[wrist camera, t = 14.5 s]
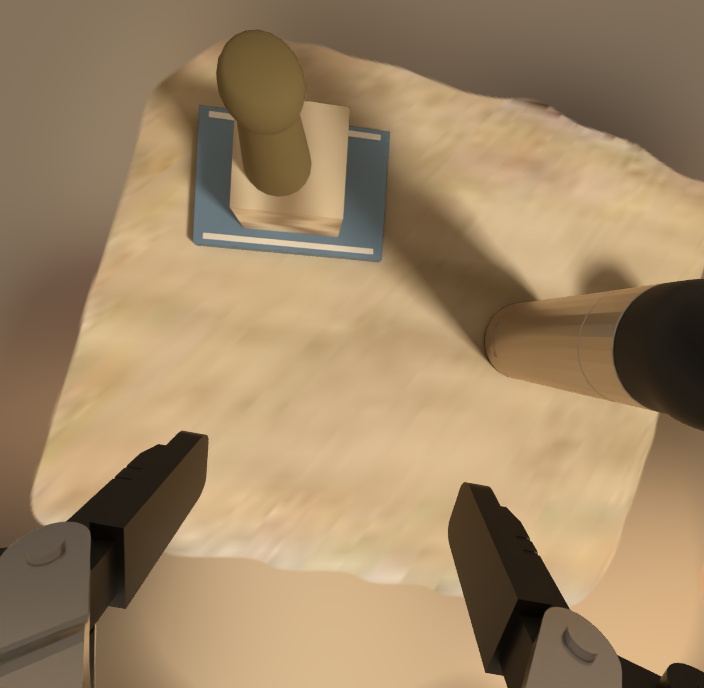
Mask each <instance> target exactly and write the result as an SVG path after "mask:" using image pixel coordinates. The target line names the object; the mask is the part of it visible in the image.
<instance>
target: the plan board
mask: <svg viewBox="0 0 704 688" xmlns="http://www.w3.org/2000/svg"><path fill="white" fill-rule="evenodd" d="M233 133H234V118H233V117H232V116H231V115H230V114H229V112H228V110H227V109H224V108H217V107H210V106H203V105H199V125H198V146H197V166H196V187H195V207H194V228H193V243H194V244H196V245H198V246H209V247H220V248H231V249H242V250H253V251H263V252H274V253H285V254H296V255H307V256H318V257H329V258H340V259H351V260H362V261H373V262H380V261H381V259H382V244H383V229H384V214H385V199H386V183H387V168H388V153H389V138H390V132H387V131H380V130H373V129H365V128H358V127H351V126H349V131H348V148H347V164H346V180H345V196H344V212H343V221H342V224H341V228H340V232H339V235H338V237H330V236H320V235H309V234H299V233H289V232H279V231H269V230H259V229H249V228H243V226H242V225H241V223H240V222H239V220H238V219H237V217H236V216H235V214H234V213H233V211H232V210H231V208H230V191H231V172H232V153H233Z"/></svg>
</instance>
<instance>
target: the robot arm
mask: <svg viewBox="0 0 704 688" xmlns="http://www.w3.org/2000/svg"><path fill="white" fill-rule="evenodd" d="M485 349H486V354H487V356H488V358H489V361H490V362H491V364H492V365H493V366H494V368H495V369H496V370H498V371H499V372H500V373H501V374H503V375H505V376H507V377H511V378H515V379H519V380H523V381H527V382H531V383H535V384H540V385H544V386H548V387H553V388H557V389H561V390H565V391H570V392H574V393H578V394H583V395H587V396H591V397H596V398H600V399H604V400H608V401H613V402H618V403H622V404H627V405H631V406H635V407H639V408H644V409H648V410H653V411H657V412H661V413H665V414H669V415H670V416H671V417H673V418H674V419H676V420H678V421H680V422H682V423H684V424H686V425H688V426H691V427H693V428H696V429H699V430H702V431H704V279H693V280H685V281H677V282H670V283H663V284H655V285H648V286H641V287H633V288H626V289H620V290H613V291H605V292H598V293H590V294H583V295H576V296H568V297H561V298H554V299H546V300H538V301H531V302H524V303H517V304H512V305H509V306H506V307H504V308H503V309H501V310H500V311H499V312H498V313H497V314H496V315H495V316H494V317H493V318H492V320H491V321H490V323H489V325H488V327H487V330H486V335H485ZM207 457H208V436H207V435H204V434H198V433H193V432H187V431H180V432H179V433H178V434H177V435H176V436H175V437H174V438H173V439H172V440H171V441H170V442H169V443H168V444H167V445H160V444H158V445H156V446H154V447H152V448H150V449H148V450H146V451H144V452H142V453H140V454H139V455H138V456H137V457H136V458H135V459H134V460H133V461H131V462H130V463H129V464H128V465H127V467H126V468H124V469H123V470H122V471H121V472H119V473H118V474H117V475H116V476H115V479H112V480H111V481H110V482H109V483H108V484H106V485H105V486H104V487H103V488H102V489H101V490H100V491H99V492H98V493H97V494H96V495H95V496H93V497H92V498H91V499H90V500H89V501H88V502H87V503H86V504H85V505H84V506H83V507H81V508H80V509H79V510H78V511H77V512H76V513H75V514H74V515H73V516H72V517H71V518H70V519H68V520H67V521H66V522H58V523H53V524H49V525H46V526H43V527H40V528H38V529H35V530H33V531H31V532H29V533H27V534H26V535H24V536H22V537H20V538H19V539H18V540H17V541H15V542H14V543H12V545H10V546H9V547H7V548H0V688H95V667H96V662H95V661H96V622H97V621H98V620H99V618H100V617H101V615H102V614H103V613H104V611H105V610H106V608H107V607H108V606H112V607H118V608H124V609H126V608H127V606H128V605H129V603H130V602H131V600H132V599H133V597H134V595H135V594H136V592H137V591H138V590H139V588H140V587H141V585H142V584H143V582H144V580H145V579H146V577H147V576H148V574H149V573H150V571H151V570H152V568H153V567H154V565H155V563H156V562H157V561H158V559H159V558H160V556H161V555H162V553H163V552H164V550H165V549H166V547H167V546H168V544H169V543H170V541H171V540H172V538H173V537H174V535H175V534H176V532H177V531H178V529H179V527H180V526H181V524H182V523H183V521H184V520H185V518H186V517H187V515H188V514H189V512H190V511H191V509H192V508H193V506H194V505H195V503H196V502H197V500H198V499H199V497H200V495H201V493H202V490H203V488H204V485H205V481H206V472H207ZM448 540H449V545H450V548H451V552H452V555H453V559H454V563H455V566H456V570H457V573H458V577H459V580H460V584H461V587H462V591H463V595H464V598H465V602H466V605H467V609H468V612H469V616H470V619H471V623H472V627H473V629H474V634H475V637H476V641H477V644H478V648H479V652H480V655H481V658H482V662H483V666H484V669H485V673H491V674H496V675H502V676H504V678H505V681H506V684H507V687H508V688H704V672H702V671H700V670H698V669H696V668H694V667H692V666H689V665H686V664H682V663H673V664H671V665H670V666H669V667H668V668H667V670H666V671H665V673H664V674H663V676H662V677H661V676H659V675H657V674H655V673H653V672H651V671H649V670H647V669H644V668H643V667H641V666H638V665H636V664H634V663H632V662H630V661H628V660H626V659H624V658H622V657H620V656H618V655H617V654H616V652H615V650H614V649H613V647H612V646H611V644H610V643H609V641H608V640H607V639H606V637H605V636H604V635H603V634H602V633H601V632H600V631H599V630H598V629H597V628H596V627H595V626H594V625H592V623H590V622H589V621H588V620H587V619H585V618H584V617H582V616H581V615H579V614H577V613H575V612H573V611H571V610H570V609H569V607H568V605H567V603H566V602H565V600H564V598H563V596H562V594H561V593H560V591H559V589H558V587H557V586H556V584H555V582H554V580H553V578H552V577H551V575H550V573H549V571H548V570H547V568H546V566H545V564H544V562H543V561H542V559H541V557H540V556H538V552H537V550H536V548H535V546H534V545H533V543H532V542H531V541H530V538H529V536H528V534H527V532H526V530H525V529H524V527H523V525H522V523H521V522H520V521H519V520H518V519H517V518H516V517H515V516H514V515H513V514H512V513H511V511H510V510H509V509H508V508H507V507H502V506H500V504H499V502H498V500H497V498H496V496H495V495H494V493H493V491H492V489H491V488H490V487H489V486H483V485H478V484H472V483H467V482H464V483H463V484H462V485H461V487H460V490H459V493H458V496H457V499H456V502H455V505H454V508H453V511H452V515H451V518H450V521H449V526H448Z"/></svg>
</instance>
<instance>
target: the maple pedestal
mask: <svg viewBox="0 0 704 688" xmlns="http://www.w3.org/2000/svg"><path fill="white" fill-rule="evenodd" d="M349 115H350V107H344V106H337V105H330V104H324V103H317V102H310V101H304V104H303V108H302V110H301V113H300V116H301V120H302V124H303V128H304V132H305V136H306V140H307V144H308V148H309V152H310V157H311V162H312V165H311V172H310V176H309V178H308V180H307V182H306V184H305V185H304V186H303V187H302V188H301V189H300V190H299V191H297V192H295V193H293V194H291V195H288V196H280V197H277V196H272V195H267V194H265V193H263V192H261V191H260V190H258V189H257V188H256V187H255V186H254V185H253V184H252V183H251V182H250V181H249V179H248V178H247V176H246V174H245V172H244V167H243V162H242V155H241V148H240V141H239V134H238V127H237V121H236V120H235V119H234V133H233V153H232V172H231V191H230V208H231V210H232V211H233V213H234V214H235V216H236V217H237V219H238V220H239V222H240V223H241V225H242V226H243V228H249V229H259V230H269V231H279V232H289V233H299V234H309V235H320V236H330V237H338V235H339V232H340V228H341V224H342V221H343V212H344V196H345V180H346V164H347V148H348V131H349Z"/></svg>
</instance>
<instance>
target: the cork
mask: <svg viewBox="0 0 704 688" xmlns="http://www.w3.org/2000/svg"><path fill="white" fill-rule="evenodd" d="M216 75H217V84H218V89H219V94H220V96H221V99H222V101H223V103H224V105H225V107H226V109H227V110H228V112H229V114H230V115H231V116H232V117H233V118H234V119H235V120H236V121H237V127H238V134H239V141H240V148H241V155H242V162H243V167H244V172H245V174H246V176H247V178H248V179H249V181H250V182H251V183H252V184H253V185H254V186H255V187H256V188H257V189H258V190H260V191H261V192H263V193H265V194H267V195H272V196H277V197H280V196H288V195H291V194H293V193H295V192H297V191H299V190H300V189H301V188H302V187H303V186H304V185H305V184H306V182H307V180H308V178H309V176H310V172H311V165H312V162H311V157H310V152H309V148H308V144H307V140H306V136H305V132H304V128H303V124H302V120H301V116H300V113H301V110H302V108H303V104H304V97H305V82H304V77H303V71H302V69H301V66H300V64H299V62H298V60H297V58H296V56H295V54H294V52H293V51H292V50H291V49H290V48H289V47H288V46H287V45H286V44H285V43H284V42H283V41H282V40H281V39H279V38H278V37H276V36H274V35H273V34H271V33H268V32H264V31H261V30H248V31H244V32H242V33H239V34H237V35H235V36H234V37H233V38H231V39H230V40H229V41H228V42H227V43H226V45H225V46H224V48H223V50H222V52H221V54H220V56H219V58H218V64H217V71H216Z"/></svg>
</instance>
